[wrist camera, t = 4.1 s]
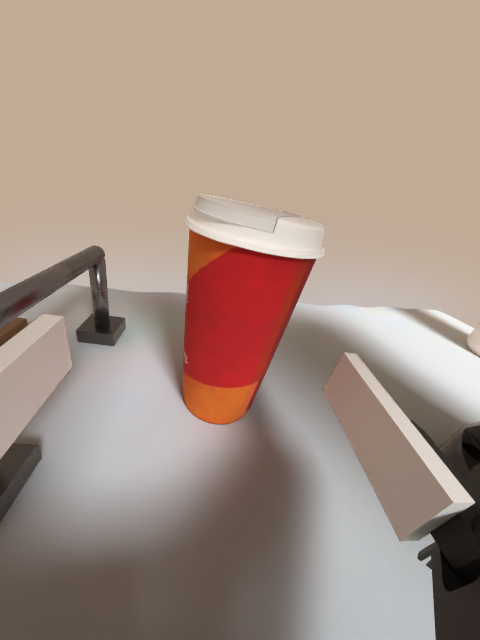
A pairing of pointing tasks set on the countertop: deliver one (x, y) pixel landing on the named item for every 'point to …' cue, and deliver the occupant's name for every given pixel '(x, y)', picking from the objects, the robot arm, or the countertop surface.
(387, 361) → the countertop surface
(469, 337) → the alcohol
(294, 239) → the paper cup
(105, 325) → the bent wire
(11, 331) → the walnut board
